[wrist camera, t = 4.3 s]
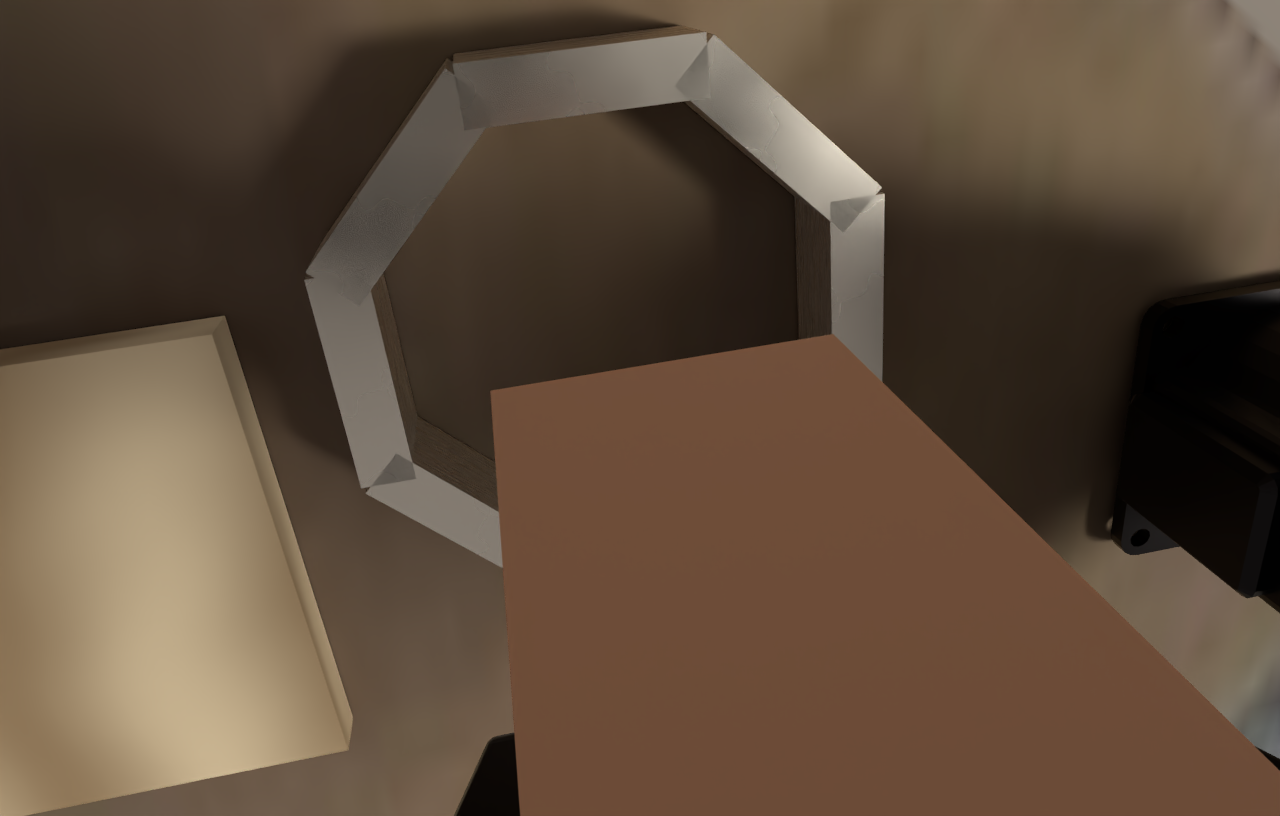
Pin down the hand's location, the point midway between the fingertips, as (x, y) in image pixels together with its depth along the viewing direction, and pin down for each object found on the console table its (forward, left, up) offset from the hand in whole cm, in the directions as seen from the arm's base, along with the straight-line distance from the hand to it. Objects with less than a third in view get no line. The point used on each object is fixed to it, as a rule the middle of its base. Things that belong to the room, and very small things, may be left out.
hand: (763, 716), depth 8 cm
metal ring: (0, 0, -11) cm, 11 cm away
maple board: (+12, +4, -11) cm, 17 cm away
